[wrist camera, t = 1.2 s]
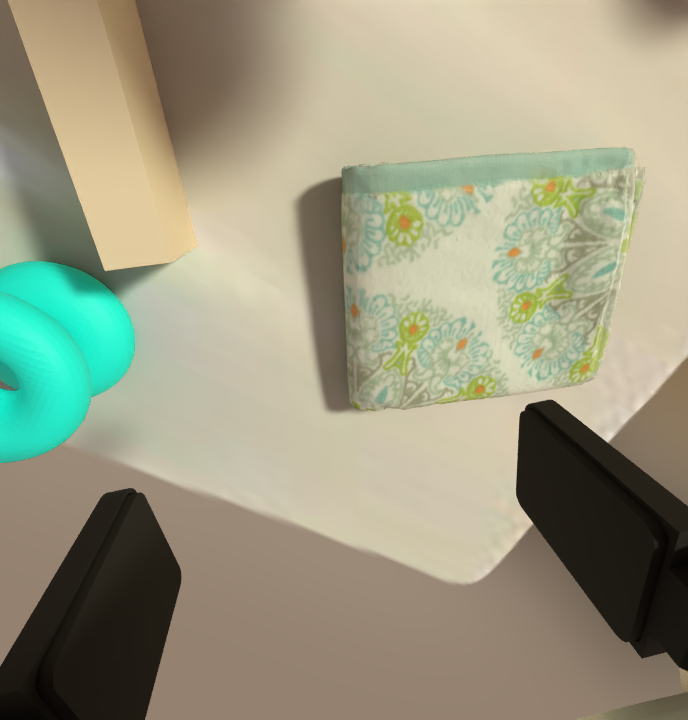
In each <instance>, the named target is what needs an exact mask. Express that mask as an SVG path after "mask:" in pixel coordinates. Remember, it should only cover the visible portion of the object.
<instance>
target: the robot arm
mask: <svg viewBox="0 0 688 720" xmlns="http://www.w3.org/2000/svg"><path fill="white" fill-rule="evenodd" d="M516 495H517V499H518V502H519V504H520V505H521V507H522V508H523V510H524V511H525V512H526V514H527V515H528V517H529V518H530V519H531V521H532V522H533V523H534V525H535V526H536V527H537V529H538V530H539V531H540V533H541V534H542V535H543V537H544V538H545V539H546V541H547V542H548V543H549V545H550V546H551V548H552V549H553V550H554V552H555V553H556V554H557V556H558V557H559V558H560V560H561V561H562V562H563V564H564V565H565V566H566V568H567V569H568V571H569V572H570V573H571V575H572V576H573V577H574V579H575V580H576V581H577V583H578V584H579V585H580V587H581V588H582V589H583V591H584V592H585V593H586V595H587V596H588V598H589V599H590V600H591V602H592V603H593V604H594V606H595V607H596V608H597V610H598V611H599V612H600V614H601V615H602V616H603V618H604V619H605V621H606V622H607V623H608V625H609V626H610V627H611V629H612V630H613V631H614V633H615V634H616V635H617V636H618V637H619V638H620V639H621V640H622V641H624V642H630V644H631V645H632V646H633V647H634V649H635V650H636V651H637V653H638V654H639V655H640V657H641V658H645V657H649V656H653V655H657V654H661V653H665V652H667V653H668V654H669V656H670V657H671V658H672V659H673V661H674V662H675V663H676V664H677V665H678V666H679V669H680V678H681V688H682V693H681V694H678V695H673V696H669V697H664V698H660V699H656V700H652V701H647V702H643V703H639V704H635V705H631V706H627V707H623V708H619V709H615V710H612V711H608V712H604V713H600V714H596V715H592V716H589V717H584V718H581V719H577V720H688V506H687V505H686V504H684V503H683V502H682V501H680V500H679V499H678V498H677V497H675V496H674V495H673V494H672V493H670V492H669V491H668V490H667V489H665V488H664V487H663V486H661V485H660V484H659V483H658V482H656V481H655V480H654V479H653V478H651V477H650V476H649V475H648V474H646V473H645V472H644V471H642V470H641V469H640V468H639V467H637V466H636V465H635V464H634V463H632V462H631V461H630V460H628V459H627V458H626V457H625V456H624V455H622V454H621V453H620V452H619V451H617V450H616V449H615V448H613V447H612V446H611V445H610V444H608V443H607V442H606V441H605V440H603V439H602V438H601V437H600V436H598V435H597V434H596V433H595V432H593V431H592V430H591V429H589V428H588V427H587V426H586V425H584V424H583V423H582V422H581V421H579V420H578V419H577V418H576V417H574V416H573V415H572V414H570V413H569V412H568V411H567V410H565V409H564V408H563V407H562V406H560V405H559V404H558V403H557V402H555V401H553V400H545V401H541V402H536V403H531V404H528V405H527V406H526V408H525V411H522V412H521V413H520V420H519V440H518V461H517V482H516ZM180 585H181V570H180V567H179V565H178V563H177V561H176V558H175V557H174V555H173V552H172V550H171V548H170V546H169V544H168V542H167V540H166V538H165V536H164V534H163V532H162V530H161V528H160V526H159V524H158V522H157V520H156V518H155V516H154V513H153V511H152V510H151V507H150V505H149V504H148V501H147V499H146V497H145V495H144V494H143V493H137V492H136V490H134V489H133V488H128V489H123V490H119V491H114V492H109V493H106V494H104V495H103V496H102V497H101V498H100V500H99V502H98V504H97V505H96V507H95V509H94V510H93V512H92V514H91V515H90V517H89V519H88V520H87V522H86V524H85V526H84V527H83V529H82V530H81V532H80V534H79V535H78V537H77V539H76V540H75V542H74V544H73V546H72V547H71V549H70V551H69V552H68V554H67V556H66V557H65V559H64V561H63V562H62V564H61V566H60V567H59V569H58V571H57V572H56V574H55V576H54V577H53V579H52V581H51V582H50V584H49V586H48V588H47V589H46V591H45V592H44V594H43V596H42V598H41V599H40V601H39V602H38V604H37V606H36V608H35V609H34V611H33V613H32V614H31V616H30V618H29V619H28V621H27V623H26V624H25V626H24V628H23V629H22V631H21V633H20V635H19V636H18V638H17V639H16V641H15V643H14V644H13V646H12V648H11V650H10V651H9V653H8V655H7V656H6V658H5V660H4V661H3V663H2V665H1V666H0V720H145V717H146V713H147V710H148V706H149V702H150V698H151V694H152V691H153V687H154V683H155V679H156V675H157V672H158V668H159V664H160V660H161V657H162V653H163V649H164V645H165V642H166V637H167V634H168V630H169V627H170V622H171V619H172V615H173V611H174V608H175V604H176V600H177V596H178V593H179V589H180Z"/></svg>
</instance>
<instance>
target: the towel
mask: <svg viewBox="0 0 688 720" xmlns="http://www.w3.org/2000/svg"><path fill="white" fill-rule="evenodd" d="M635 160H636V155H635V151H634V150H633V149H630V148H597V149H584V150H572V151H556V152H545V153H518V154H500V155H483V156H474V157H462V158H452V159H444V160H434V161H422V162H406V163H398V164H388V163H380V164H362V165H359V166H352V167H351V166H347V167H343V169H342V183H343V193H342V195H341V201H342V211H341V223H342V253H343V275H344V297H345V322H346V346H347V376H348V390H349V400H350V403H351V404H352V406H354V407H356V408H358V409H360V410H372V411H379V410H382V409H385V408H386V407H388V408H396V409H403V410H406V409H410V408H416V407H424V406H429V405H433V404H444V403H452V402H458V401H466V400H475V399H484V398H494V397H503V396H510V395H518V394H524V393H530V392H536V391H542V390H550V389H557V388H563V387H570V386H576V385H581V384H583V383H585V382H588V381H591V380H593V379H594V378H595V376H596V375H597V374H598V372H599V370H600V367H601V364H602V362H603V358H604V354H605V350H606V345H607V342H608V338H609V334H610V330H611V324H612V320H613V314H614V310H615V305H616V300H617V297H618V293H619V288H620V284H621V279H622V274H623V269H624V264H625V259H626V255H627V252H628V249H629V246H630V242H631V238H632V233H633V230H634V227H635V222H636V218H637V215H638V210H639V205H640V201H641V198H642V193H643V188H644V184H645V181H646V177H645V167H643V166H640V165H635Z"/></svg>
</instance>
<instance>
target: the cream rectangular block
mask: <svg viewBox="0 0 688 720" xmlns="http://www.w3.org/2000/svg"><path fill="white" fill-rule="evenodd" d="M8 3H9V6H10V8H11V11H12V14H13V17H14V20H15V22H16V25H17V28H18V31H19V33H20V36H21V39H22V42H23V45H24V47H25V50H26V53H27V56H28V59H29V61H30V64H31V67H32V70H33V72H34V75H35V78H36V81H37V84H38V86H39V89H40V92H41V95H42V97H43V100H44V103H45V106H46V109H47V111H48V114H49V117H50V120H51V123H52V125H53V128H54V131H55V134H56V136H57V139H58V142H59V145H60V148H61V150H62V153H63V156H64V159H65V162H66V164H67V167H68V170H69V173H70V175H71V178H72V181H73V184H74V187H75V189H76V192H77V195H78V198H79V201H80V203H81V206H82V209H83V212H84V214H85V217H86V220H87V223H88V226H89V228H90V231H91V234H92V237H93V239H94V242H95V245H96V248H97V251H98V253H99V256H100V259H101V262H102V265H103V267H104V270H105V271H108V270H116V269H124V268H132V267H139V266H147V265H155V264H163V263H171V262H173V261H175V260H176V259H178V258H179V257H181V256H183V255H184V254H186V253H187V252H189V251H190V250H192V249H193V248H195V247H197V242H196V238H195V234H194V230H193V226H192V222H191V219H190V215H189V211H188V207H187V203H186V199H185V195H184V191H183V187H182V183H181V179H180V175H179V171H178V167H177V163H176V159H175V155H174V152H173V148H172V144H171V140H170V136H169V132H168V128H167V124H166V120H165V116H164V112H163V108H162V104H161V100H160V96H159V92H158V89H157V85H156V81H155V77H154V73H153V69H152V65H151V61H150V57H149V53H148V49H147V45H146V41H145V37H144V33H143V29H142V25H141V22H140V18H139V14H138V10H137V6H136V2H135V0H8Z"/></svg>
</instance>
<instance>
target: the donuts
mask: <svg viewBox="0 0 688 720" xmlns="http://www.w3.org/2000/svg"><path fill="white" fill-rule="evenodd" d="M134 351H135V333H134V328H133V325H132V322H131V319H130V317H129V315H128V313H127V311H126V309H125V308H124V306H123V304H122V303H121V302H120V300H119V299H118V298H117V297H116V296H115V294H114V293H113V292H112V291H111V290H109V289H108V288H107V287H106V286H105V285H104V284H102V283H101V282H100V281H98V280H97V279H95V278H94V277H92V276H90V275H89V274H87V273H85V272H83V271H80V270H78V269H76V268H73V267H70V266H67V265H63V264H58V263H53V262H44V261H29V262H22V263H17V264H13V265H9V266H6V267H4V268H1V269H0V380H1V381H2V382H4V383H5V384H7V385H8V386H10V387H12V388H14V389H16V390H12V391H10V390H4V389H1V388H0V463H8V462H15V461H21V460H25V459H29V458H33V457H36V456H39V455H42V454H44V453H46V452H48V451H50V450H52V449H54V448H55V447H57V446H59V445H60V444H62V443H63V442H64V441H66V440H67V439H68V438H69V437H70V436H71V435H72V434H73V433H74V432H75V431H76V430H77V429H78V427H79V426H80V425H81V423H82V422H83V420H84V418H85V416H86V414H87V411H88V409H89V406H90V402H91V397H93V396H96V395H98V394H100V393H102V392H104V391H106V390H108V389H109V388H111V387H112V386H114V385H115V384H116V383H117V382H118V381H119V380H120V379H121V378H122V377H123V376H124V374H125V373H126V372H127V370H128V368H129V367H130V365H131V362H132V359H133V356H134Z"/></svg>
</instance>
